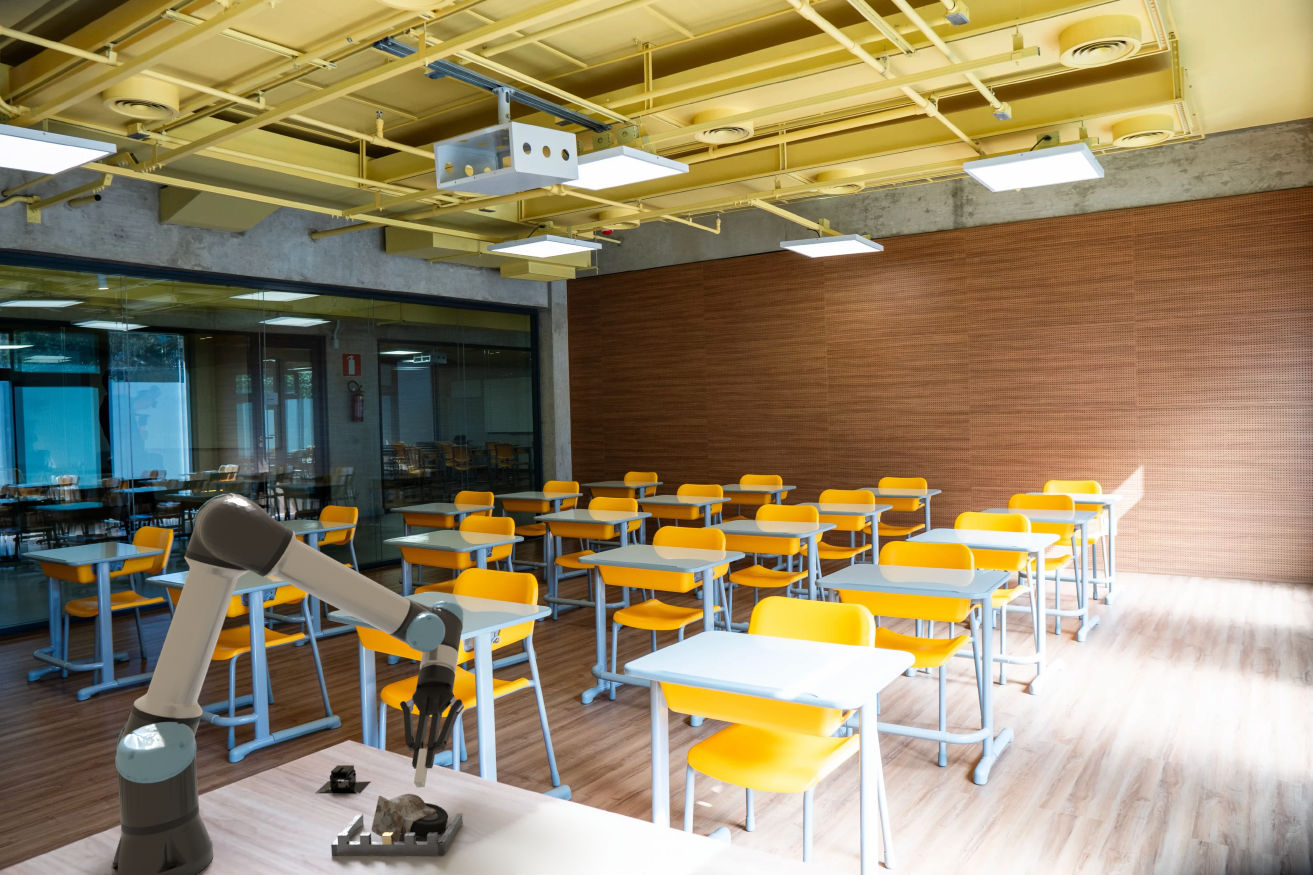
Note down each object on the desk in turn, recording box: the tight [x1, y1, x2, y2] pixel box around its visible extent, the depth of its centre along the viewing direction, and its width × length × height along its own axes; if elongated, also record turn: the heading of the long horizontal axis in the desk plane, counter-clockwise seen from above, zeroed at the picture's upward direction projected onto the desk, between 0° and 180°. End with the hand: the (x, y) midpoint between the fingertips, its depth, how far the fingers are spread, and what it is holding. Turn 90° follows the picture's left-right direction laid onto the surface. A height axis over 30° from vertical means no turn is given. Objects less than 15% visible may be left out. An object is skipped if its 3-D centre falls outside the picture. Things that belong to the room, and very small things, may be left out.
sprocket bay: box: [330, 813, 464, 857], centre depth 153 cm, size 20×11×4 cm, turn 86°
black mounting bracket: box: [315, 764, 372, 795], centre depth 175 cm, size 12×7×5 cm, turn 85°
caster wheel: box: [371, 793, 449, 842], centre depth 155 cm, size 7×11×10 cm
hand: (419, 784), depth 163 cm, fingers closed
